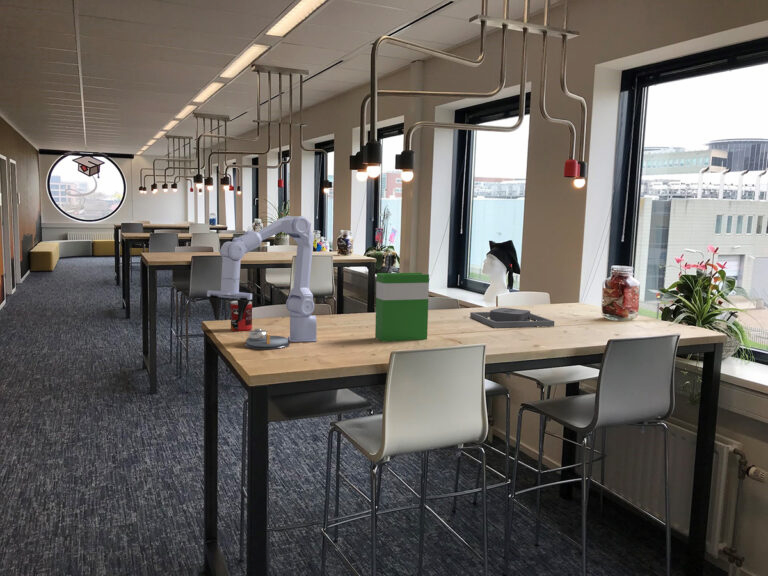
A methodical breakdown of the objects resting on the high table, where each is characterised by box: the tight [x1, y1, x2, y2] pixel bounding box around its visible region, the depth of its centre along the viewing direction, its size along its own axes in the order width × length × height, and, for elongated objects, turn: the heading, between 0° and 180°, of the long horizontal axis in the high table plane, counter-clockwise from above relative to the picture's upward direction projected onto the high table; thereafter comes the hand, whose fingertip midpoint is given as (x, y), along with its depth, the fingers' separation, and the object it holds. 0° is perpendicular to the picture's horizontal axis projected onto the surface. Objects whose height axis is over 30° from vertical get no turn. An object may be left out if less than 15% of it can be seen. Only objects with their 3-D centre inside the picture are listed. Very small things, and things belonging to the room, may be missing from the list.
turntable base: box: [244, 341, 290, 351], centre depth 213 cm, size 15×15×1 cm
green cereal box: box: [374, 272, 430, 342], centre depth 228 cm, size 18×7×24 cm, turn 111°
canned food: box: [230, 300, 253, 332], centre depth 239 cm, size 8×8×11 cm
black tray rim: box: [469, 311, 555, 329], centre depth 273 cm, size 27×27×2 cm
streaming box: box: [489, 307, 531, 322], centre depth 273 cm, size 14×14×5 cm
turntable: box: [245, 332, 289, 347], centre depth 212 cm, size 15×14×4 cm
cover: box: [248, 328, 268, 341], centre depth 212 cm, size 6×6×4 cm
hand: (228, 320), depth 204 cm, fingers open, 7 cm apart
